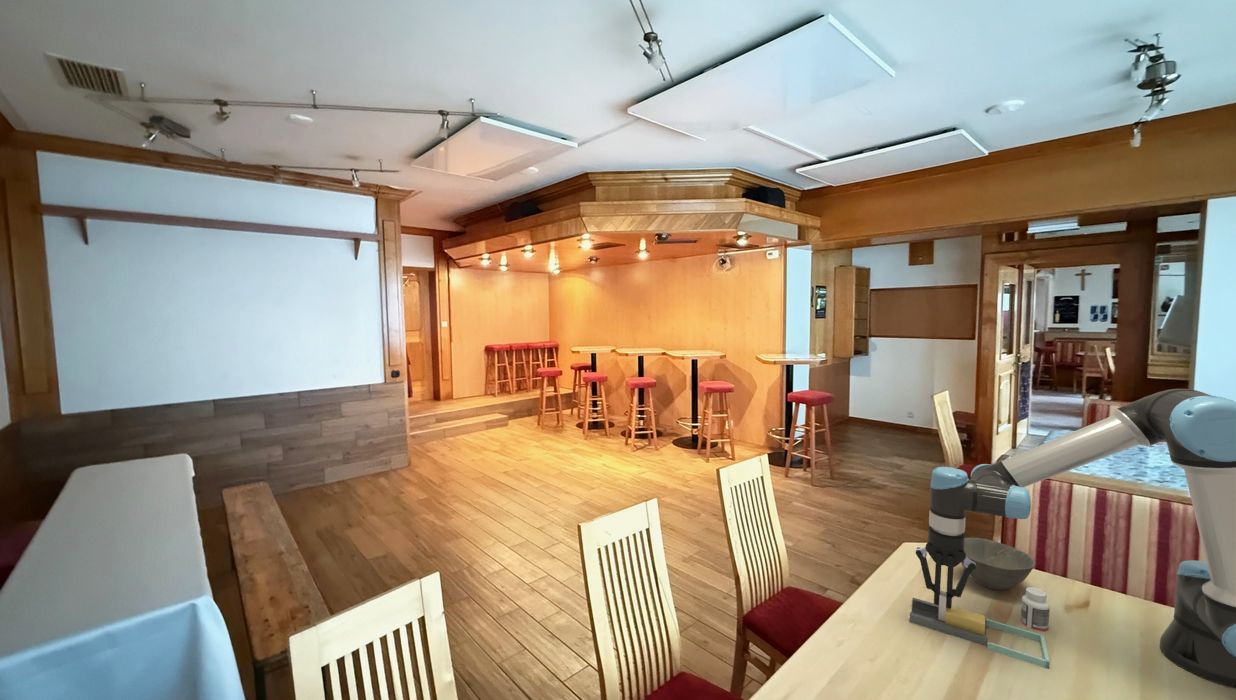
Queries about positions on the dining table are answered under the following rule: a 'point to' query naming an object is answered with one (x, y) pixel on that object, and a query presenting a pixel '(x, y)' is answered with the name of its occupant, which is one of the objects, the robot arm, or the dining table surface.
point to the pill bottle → (1035, 609)
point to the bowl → (997, 563)
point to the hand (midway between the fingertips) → (941, 617)
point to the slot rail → (941, 622)
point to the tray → (1018, 654)
